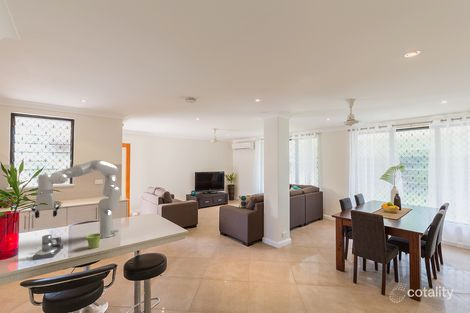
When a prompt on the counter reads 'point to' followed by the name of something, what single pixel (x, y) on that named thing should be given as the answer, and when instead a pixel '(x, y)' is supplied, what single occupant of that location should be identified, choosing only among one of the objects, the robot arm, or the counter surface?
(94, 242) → the plant pot
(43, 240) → the spacer
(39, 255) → the scale
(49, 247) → the spacer
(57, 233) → the counter surface
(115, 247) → the counter surface
